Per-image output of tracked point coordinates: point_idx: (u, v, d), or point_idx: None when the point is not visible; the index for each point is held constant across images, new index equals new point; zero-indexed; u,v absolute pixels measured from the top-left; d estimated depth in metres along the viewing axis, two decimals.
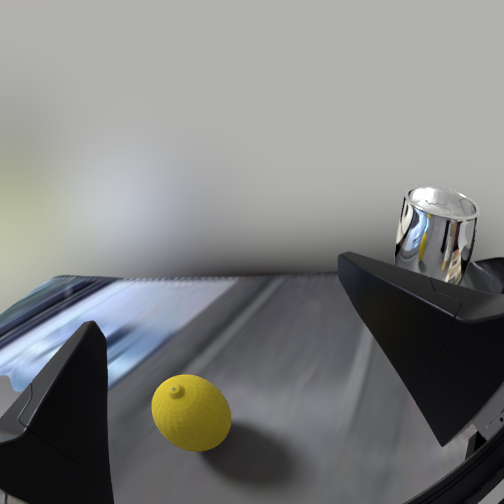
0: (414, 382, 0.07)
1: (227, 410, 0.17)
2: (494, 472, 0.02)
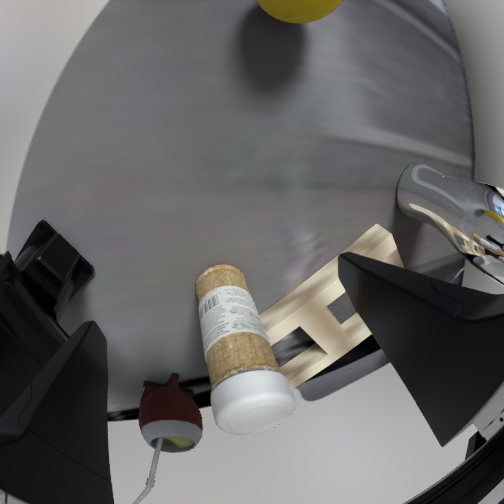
0: (414, 382, 0.07)
1: (321, 16, 0.12)
2: (494, 472, 0.02)
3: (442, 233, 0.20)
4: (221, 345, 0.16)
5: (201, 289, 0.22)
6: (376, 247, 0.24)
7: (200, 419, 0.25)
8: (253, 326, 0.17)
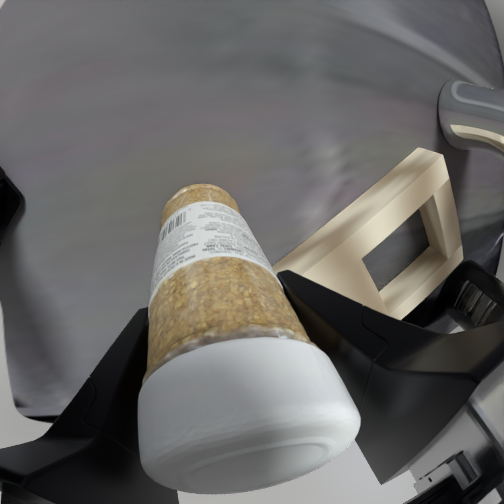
0: None
1: None
2: None
3: None
4: (174, 284, 0.07)
5: (165, 217, 0.13)
6: (426, 170, 0.15)
7: None
8: (249, 252, 0.08)
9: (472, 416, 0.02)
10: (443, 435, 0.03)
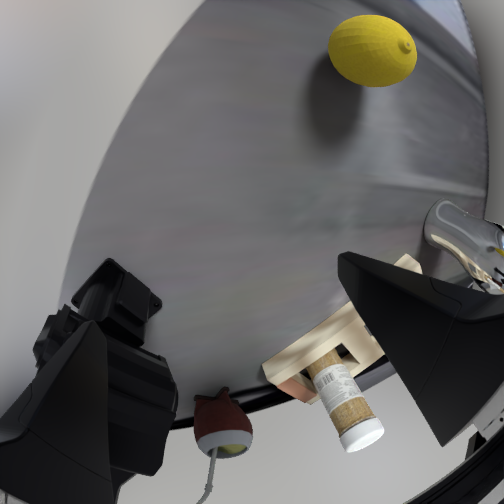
0: (414, 382, 0.07)
1: None
2: (494, 472, 0.02)
3: (461, 264, 0.23)
4: (345, 406, 0.24)
5: (314, 364, 0.30)
6: None
7: (251, 427, 0.28)
8: (358, 392, 0.26)
9: None
10: None
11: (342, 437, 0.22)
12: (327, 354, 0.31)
